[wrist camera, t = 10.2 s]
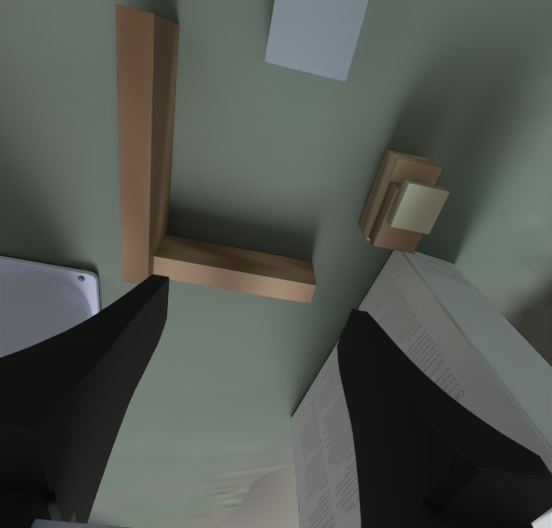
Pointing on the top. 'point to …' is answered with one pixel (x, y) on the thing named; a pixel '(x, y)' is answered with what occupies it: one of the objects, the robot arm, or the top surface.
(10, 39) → the top surface
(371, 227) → the offcut stack
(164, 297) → the robot arm
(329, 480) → the skincare box
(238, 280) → the brown wooden l-shape
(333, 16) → the light blue block
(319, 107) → the top surface
